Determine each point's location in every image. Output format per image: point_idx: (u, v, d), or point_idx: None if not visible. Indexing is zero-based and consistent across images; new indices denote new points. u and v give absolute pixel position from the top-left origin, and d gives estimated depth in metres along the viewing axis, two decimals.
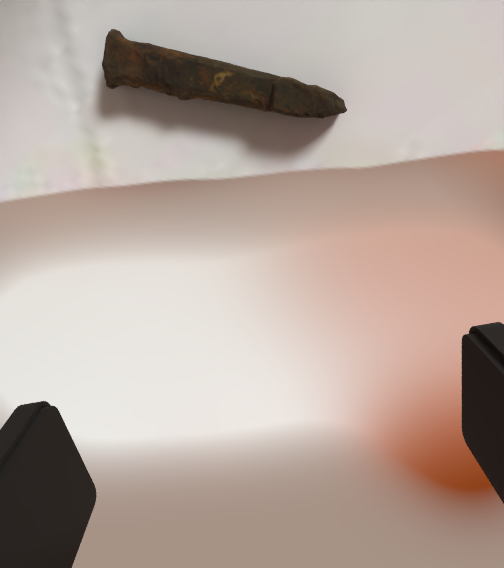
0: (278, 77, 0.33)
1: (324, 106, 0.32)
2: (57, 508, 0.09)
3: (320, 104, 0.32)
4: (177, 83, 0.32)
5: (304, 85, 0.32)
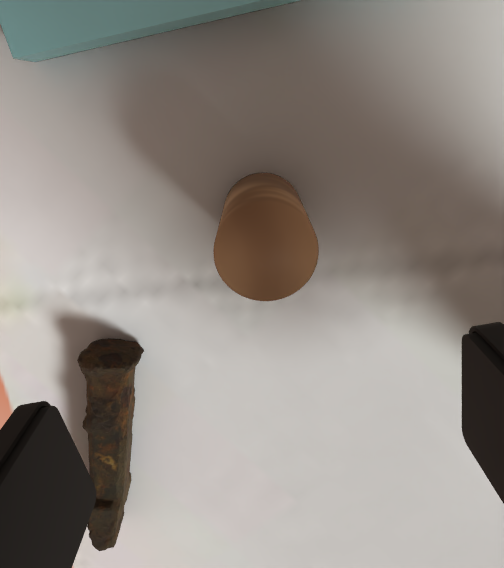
0: (120, 500, 0.34)
1: (100, 544, 0.34)
2: (57, 508, 0.09)
3: (101, 541, 0.34)
4: (93, 428, 0.31)
5: (114, 528, 0.34)
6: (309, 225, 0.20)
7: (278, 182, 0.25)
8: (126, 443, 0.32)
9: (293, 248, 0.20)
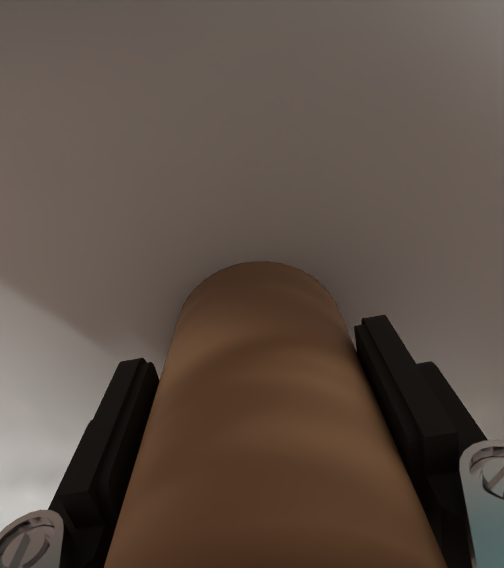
0: None
1: None
2: None
3: None
4: None
5: None
6: None
7: (300, 307, 0.10)
8: None
9: None
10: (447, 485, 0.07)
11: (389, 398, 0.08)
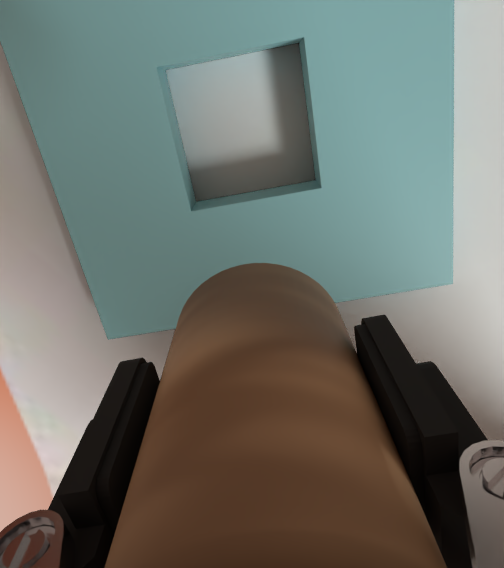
0: None
1: None
2: None
3: None
4: None
5: None
6: None
7: (300, 308, 0.10)
8: None
9: None
10: (446, 485, 0.07)
11: (389, 398, 0.08)
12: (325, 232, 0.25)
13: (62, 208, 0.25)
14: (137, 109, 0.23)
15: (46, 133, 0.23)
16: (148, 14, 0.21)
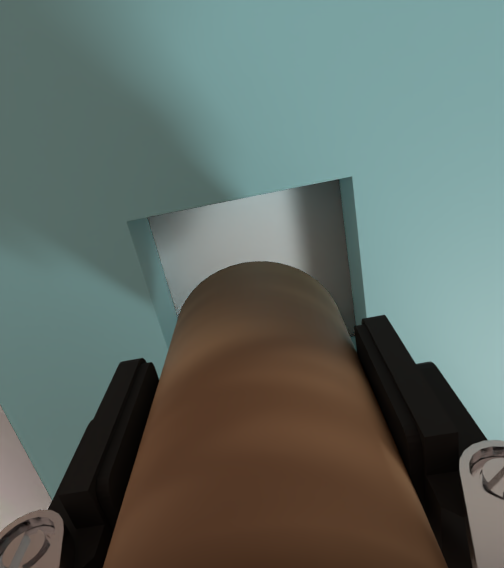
0: None
1: None
2: None
3: None
4: None
5: None
6: None
7: (300, 307, 0.10)
8: None
9: None
10: (446, 485, 0.07)
11: (389, 398, 0.08)
12: None
13: (0, 400, 0.17)
14: (101, 276, 0.15)
15: None
16: (110, 150, 0.13)
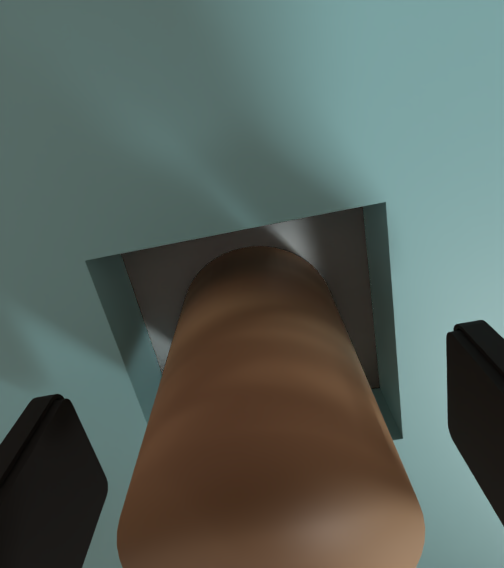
0: None
1: None
2: (72, 498, 0.09)
3: None
4: None
5: None
6: (404, 486, 0.07)
7: (293, 282, 0.11)
8: None
9: (351, 537, 0.07)
10: None
11: None
12: None
13: None
14: (54, 329, 0.12)
15: None
16: (59, 167, 0.10)
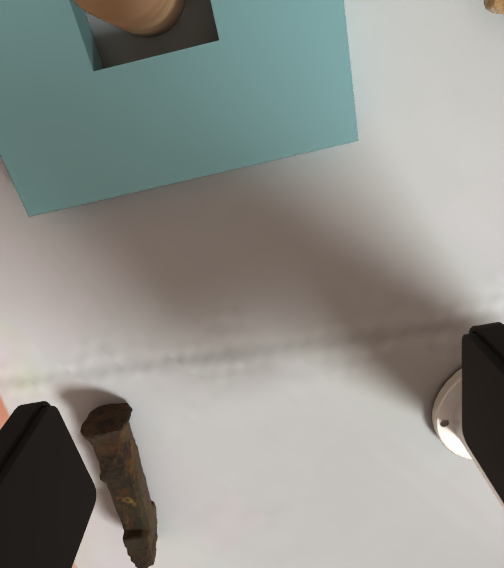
0: (148, 528, 0.41)
1: (141, 565, 0.42)
2: (57, 508, 0.09)
3: (141, 562, 0.42)
4: (108, 479, 0.38)
5: (149, 550, 0.41)
6: None
7: None
8: (138, 483, 0.39)
9: None
10: None
11: None
12: (228, 89, 0.26)
13: None
14: None
15: None
16: None
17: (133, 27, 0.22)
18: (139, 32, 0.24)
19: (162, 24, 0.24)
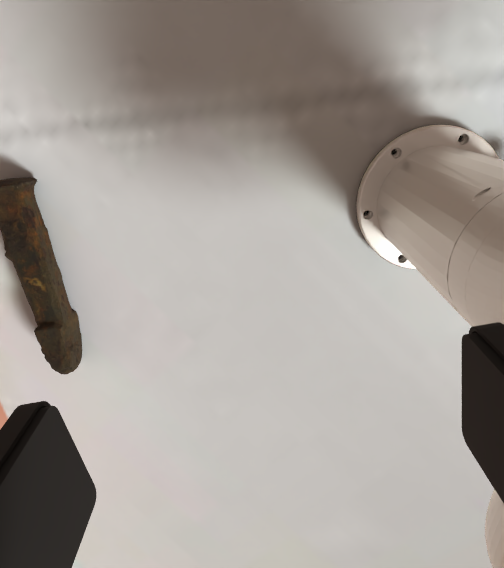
0: (62, 322, 0.40)
1: (56, 365, 0.40)
2: (57, 508, 0.09)
3: (56, 362, 0.40)
4: (12, 251, 0.37)
5: (62, 346, 0.40)
6: None
7: None
8: (47, 265, 0.38)
9: None
10: None
11: None
12: None
13: None
14: None
15: None
16: None
17: None
18: None
19: None
